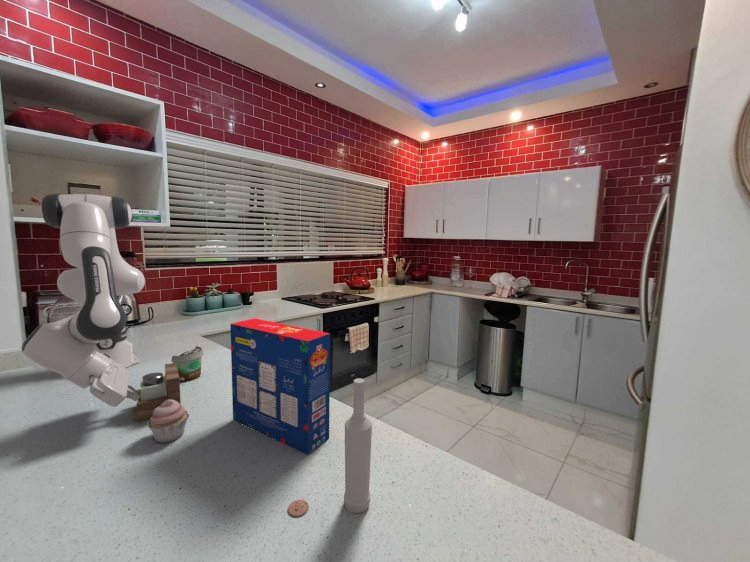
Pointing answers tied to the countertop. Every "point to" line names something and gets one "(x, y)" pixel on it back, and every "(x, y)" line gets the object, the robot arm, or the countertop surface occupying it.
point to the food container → (189, 364)
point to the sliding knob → (153, 386)
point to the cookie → (298, 508)
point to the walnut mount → (172, 392)
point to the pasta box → (281, 382)
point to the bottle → (357, 454)
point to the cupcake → (168, 421)
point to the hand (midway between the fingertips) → (138, 397)
